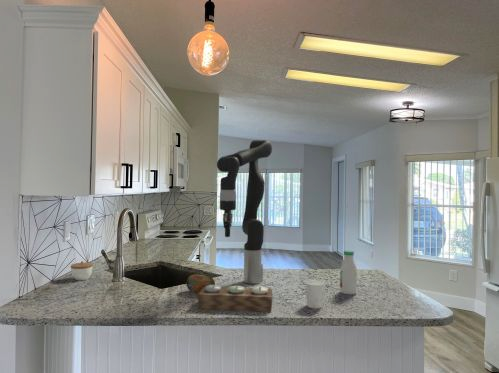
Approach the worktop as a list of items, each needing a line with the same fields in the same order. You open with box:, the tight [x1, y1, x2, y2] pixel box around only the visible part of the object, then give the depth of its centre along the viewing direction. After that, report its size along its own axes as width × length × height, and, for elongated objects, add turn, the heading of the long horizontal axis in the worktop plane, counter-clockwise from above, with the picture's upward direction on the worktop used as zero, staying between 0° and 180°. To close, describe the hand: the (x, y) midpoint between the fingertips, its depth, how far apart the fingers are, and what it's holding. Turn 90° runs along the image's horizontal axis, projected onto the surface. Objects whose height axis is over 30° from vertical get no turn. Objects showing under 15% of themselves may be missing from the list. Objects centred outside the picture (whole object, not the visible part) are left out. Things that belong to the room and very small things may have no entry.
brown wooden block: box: [197, 286, 273, 313], centre depth 155 cm, size 30×12×6 cm, turn 85°
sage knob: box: [228, 285, 245, 294], centre depth 155 cm, size 7×7×5 cm
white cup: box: [305, 279, 326, 310], centre depth 156 cm, size 8×8×10 cm
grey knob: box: [205, 284, 222, 293], centre depth 156 cm, size 7×7×5 cm
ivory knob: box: [251, 286, 269, 295], centre depth 154 cm, size 7×7×5 cm
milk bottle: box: [339, 249, 358, 296], centre depth 176 cm, size 8×8×20 cm
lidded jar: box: [70, 260, 94, 281], centre depth 196 cm, size 11×11×9 cm
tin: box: [186, 273, 216, 294], centre depth 173 cm, size 15×3×8 cm, turn 62°
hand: (227, 236), depth 171 cm, fingers closed
